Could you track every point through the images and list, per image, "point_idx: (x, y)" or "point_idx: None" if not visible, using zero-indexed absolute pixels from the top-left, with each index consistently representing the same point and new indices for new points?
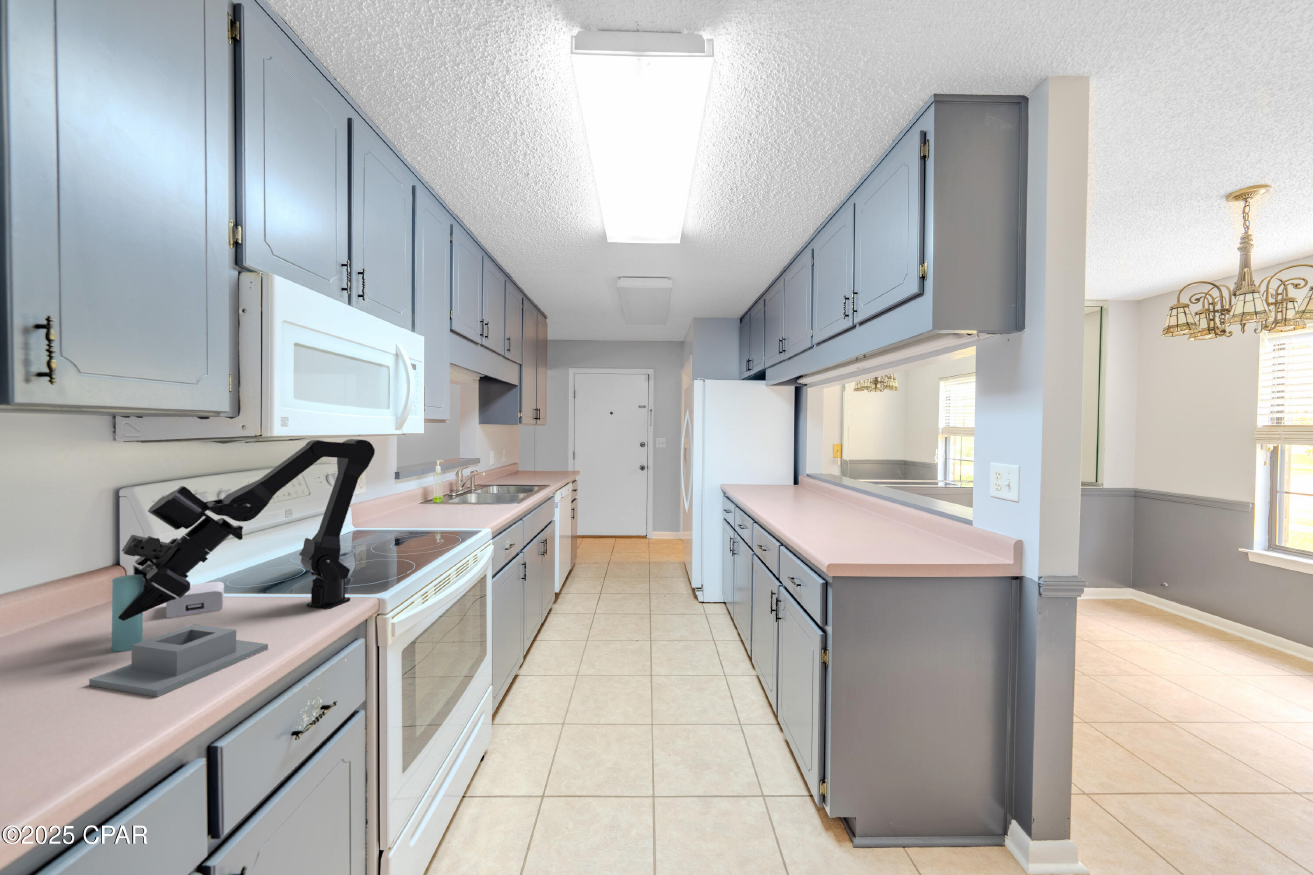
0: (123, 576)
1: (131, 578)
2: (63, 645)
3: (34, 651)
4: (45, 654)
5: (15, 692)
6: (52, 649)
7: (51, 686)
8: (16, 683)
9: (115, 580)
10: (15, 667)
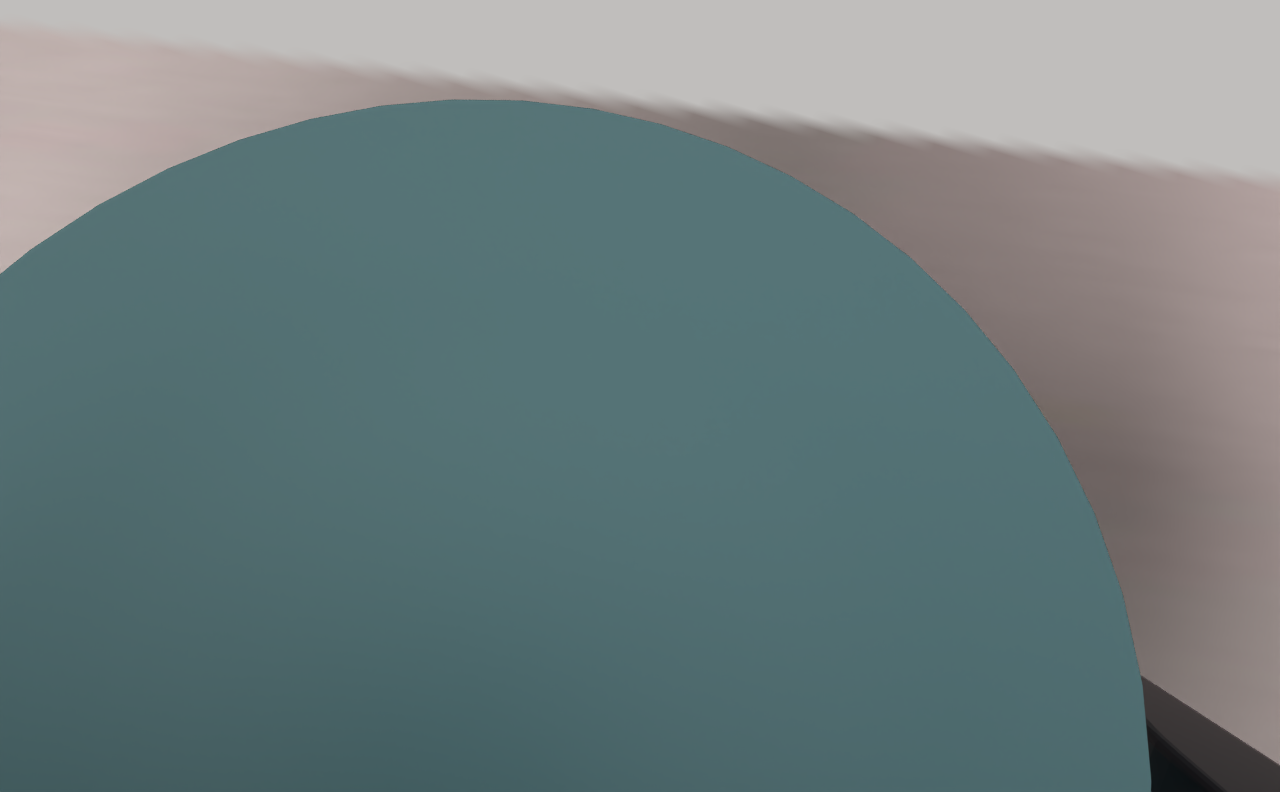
0: (959, 557)
1: (35, 711)
2: (1170, 439)
3: (1148, 273)
4: (981, 305)
5: (178, 59)
6: (1101, 362)
7: (56, 194)
8: (375, 88)
9: (287, 134)
10: (787, 137)
